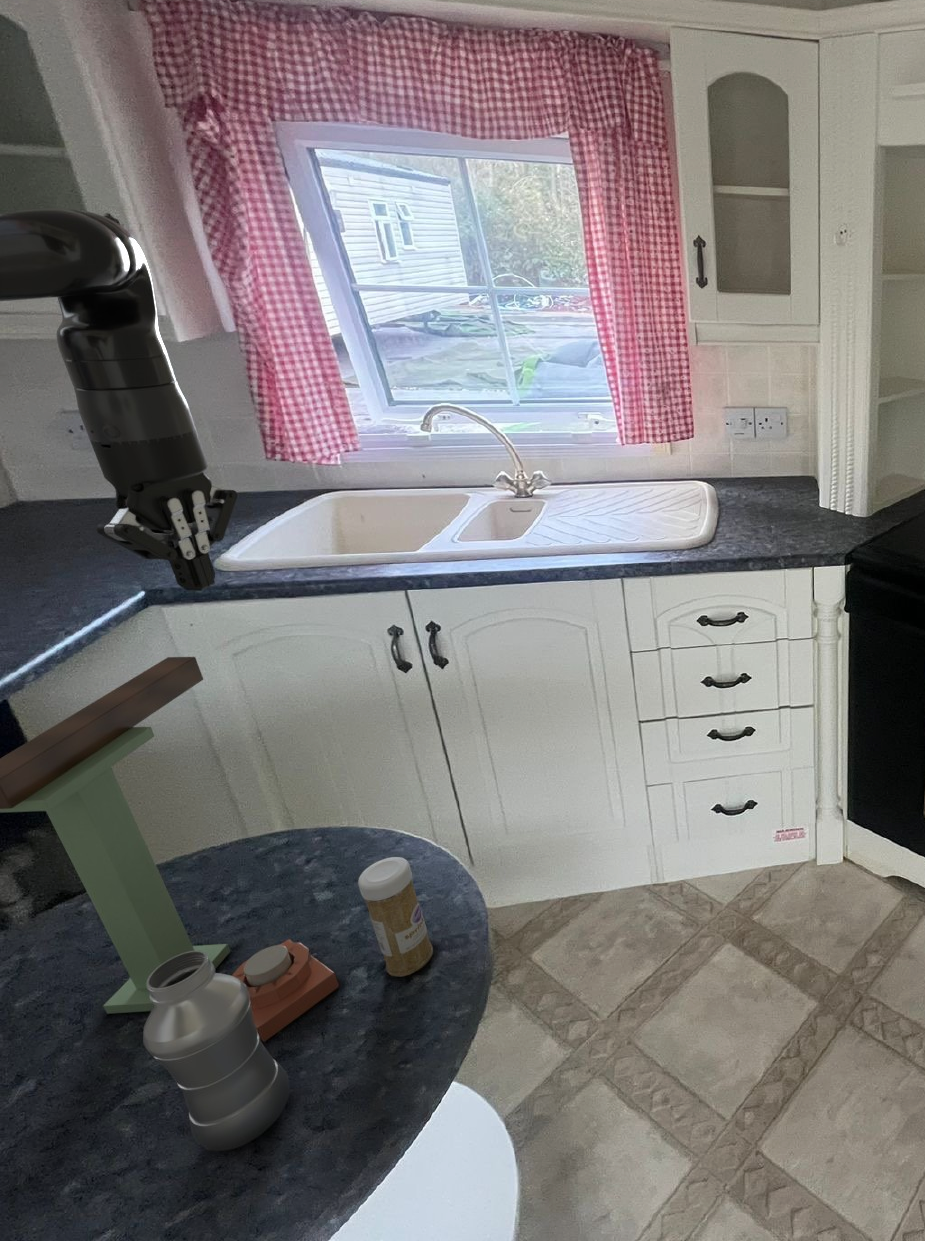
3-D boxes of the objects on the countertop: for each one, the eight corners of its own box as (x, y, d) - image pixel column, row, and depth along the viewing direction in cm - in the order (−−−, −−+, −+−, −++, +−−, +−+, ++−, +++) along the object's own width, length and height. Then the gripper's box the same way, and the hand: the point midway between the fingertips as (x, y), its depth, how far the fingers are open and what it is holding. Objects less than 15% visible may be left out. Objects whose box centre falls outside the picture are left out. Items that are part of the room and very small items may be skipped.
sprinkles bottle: (431, 969, 83) (405, 879, 78) (383, 984, 82) (352, 893, 76) (435, 937, 87) (411, 850, 82) (389, 951, 85) (361, 862, 80)
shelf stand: (178, 939, 86) (80, 728, 75) (244, 936, 86) (156, 726, 75) (88, 1032, 75) (-40, 803, 64) (164, 1027, 76) (50, 800, 65)
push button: (240, 977, 78) (235, 966, 77) (280, 951, 81) (276, 939, 80) (259, 992, 76) (254, 980, 76) (299, 965, 79) (294, 953, 79)
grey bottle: (309, 1108, 70) (245, 957, 62) (217, 1179, 64) (136, 1022, 57) (278, 1071, 73) (214, 922, 65) (188, 1136, 67) (106, 981, 60)
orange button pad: (218, 1003, 79) (206, 977, 77) (294, 952, 85) (284, 927, 83) (264, 1042, 75) (252, 1015, 74) (339, 986, 81) (330, 960, 80)
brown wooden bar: (176, 679, 83) (167, 656, 82) (204, 679, 83) (195, 656, 82) (-25, 810, 64) (-41, 782, 63) (11, 808, 64) (-3, 781, 63)
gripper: (171, 414, 79) (222, 562, 86) (28, 443, 67) (100, 613, 73) (240, 417, 79) (285, 565, 86) (109, 447, 67) (173, 617, 73)
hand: (199, 587), depth 80 cm, fingers closed
